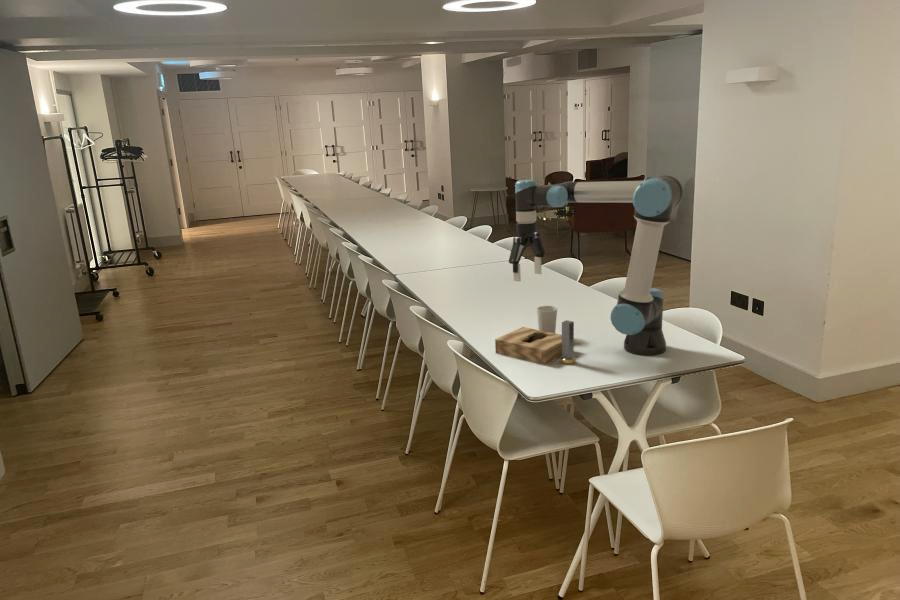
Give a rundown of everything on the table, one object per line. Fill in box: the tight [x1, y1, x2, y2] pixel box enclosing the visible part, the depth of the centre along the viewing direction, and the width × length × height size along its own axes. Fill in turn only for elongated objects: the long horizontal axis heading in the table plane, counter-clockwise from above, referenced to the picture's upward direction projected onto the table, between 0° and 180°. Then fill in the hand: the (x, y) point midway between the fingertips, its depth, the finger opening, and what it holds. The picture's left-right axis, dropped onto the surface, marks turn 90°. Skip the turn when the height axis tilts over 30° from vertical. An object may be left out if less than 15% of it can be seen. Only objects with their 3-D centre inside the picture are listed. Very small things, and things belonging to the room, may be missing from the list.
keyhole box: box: [494, 326, 562, 366], centre depth 247 cm, size 22×18×6 cm
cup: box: [536, 305, 558, 333], centre depth 262 cm, size 8×8×12 cm
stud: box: [560, 320, 576, 366], centre depth 234 cm, size 5×5×15 cm
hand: (527, 277), depth 253 cm, fingers open, 13 cm apart
